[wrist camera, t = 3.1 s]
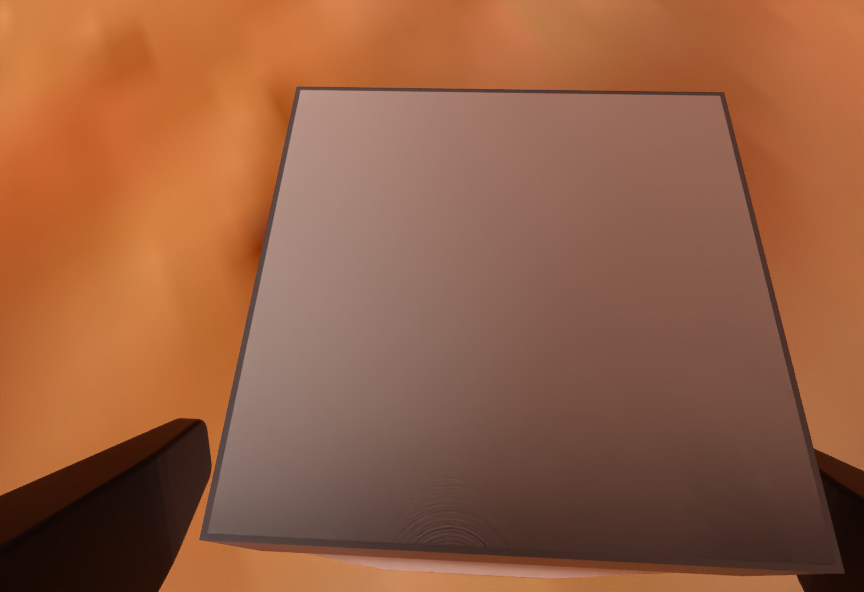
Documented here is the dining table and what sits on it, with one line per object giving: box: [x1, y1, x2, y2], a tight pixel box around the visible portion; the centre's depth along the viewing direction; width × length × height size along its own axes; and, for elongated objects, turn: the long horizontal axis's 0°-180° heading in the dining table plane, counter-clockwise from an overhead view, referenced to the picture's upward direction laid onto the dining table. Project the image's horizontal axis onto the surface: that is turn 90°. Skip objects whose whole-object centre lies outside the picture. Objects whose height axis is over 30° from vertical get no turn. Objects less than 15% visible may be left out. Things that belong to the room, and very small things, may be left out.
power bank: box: [199, 87, 845, 578], centre depth 11 cm, size 5×5×13 cm
